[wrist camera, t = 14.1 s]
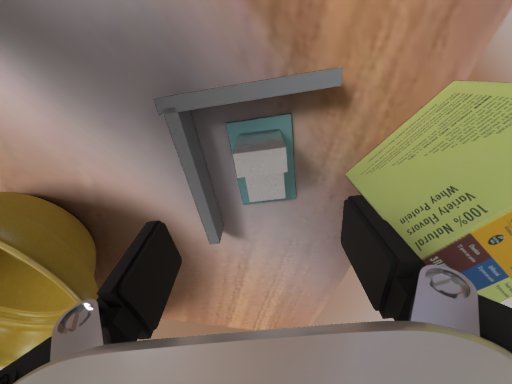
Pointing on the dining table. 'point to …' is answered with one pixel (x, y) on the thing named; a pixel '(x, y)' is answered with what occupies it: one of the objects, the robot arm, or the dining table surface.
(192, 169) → the corner walls
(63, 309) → the planter bowl
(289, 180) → the mat
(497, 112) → the protein box
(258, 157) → the grey l-shaped block
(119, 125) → the dining table surface
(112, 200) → the dining table surface
